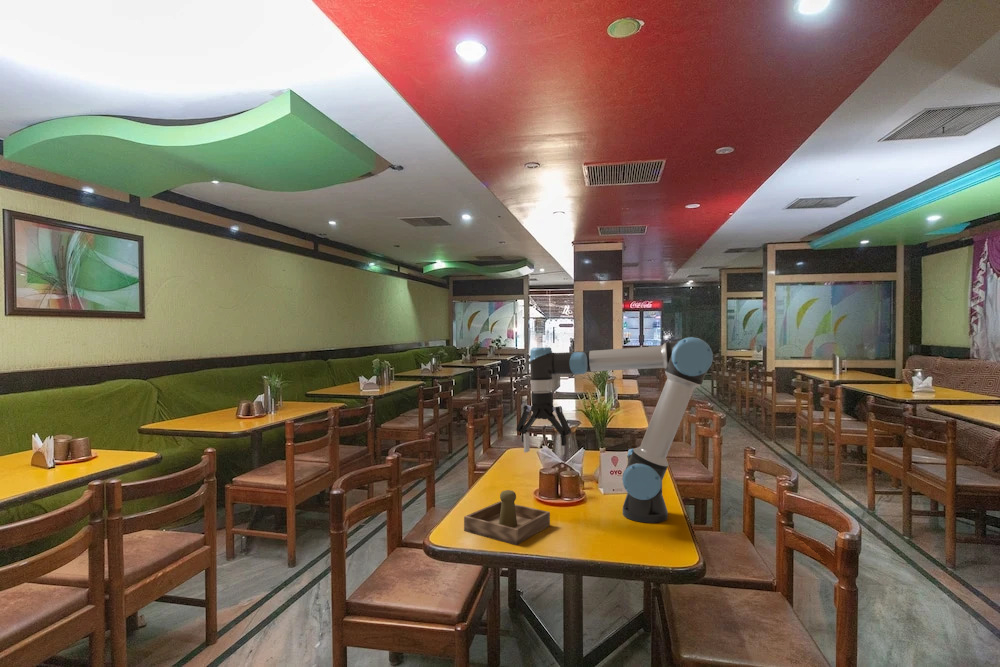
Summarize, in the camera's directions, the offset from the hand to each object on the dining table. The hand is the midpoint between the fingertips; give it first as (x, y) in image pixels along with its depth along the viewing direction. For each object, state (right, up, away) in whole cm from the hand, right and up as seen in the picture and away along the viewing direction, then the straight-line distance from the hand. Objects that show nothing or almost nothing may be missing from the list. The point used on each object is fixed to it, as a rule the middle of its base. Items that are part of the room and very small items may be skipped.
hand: (543, 453), depth 177 cm
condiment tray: (-13, -22, -11) cm, 27 cm away
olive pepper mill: (-13, -21, -11) cm, 27 cm away
